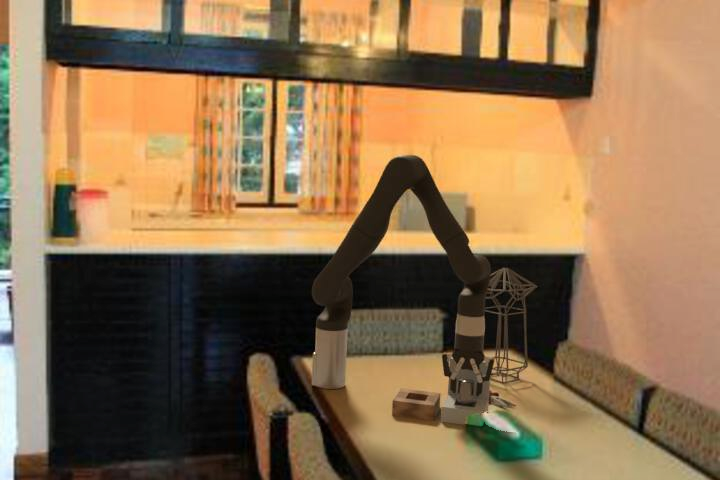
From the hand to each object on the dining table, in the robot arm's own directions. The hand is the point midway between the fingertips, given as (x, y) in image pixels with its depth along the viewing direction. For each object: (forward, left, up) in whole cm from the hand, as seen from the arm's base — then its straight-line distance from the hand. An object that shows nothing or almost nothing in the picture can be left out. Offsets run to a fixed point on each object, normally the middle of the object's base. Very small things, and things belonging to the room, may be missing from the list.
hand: (466, 393), depth 203 cm
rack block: (0, 0, -7) cm, 7 cm away
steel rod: (0, 0, -7) cm, 7 cm away
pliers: (+2, +17, -7) cm, 19 cm away
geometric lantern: (+6, +41, -7) cm, 42 cm away
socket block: (-13, 0, -7) cm, 15 cm away
